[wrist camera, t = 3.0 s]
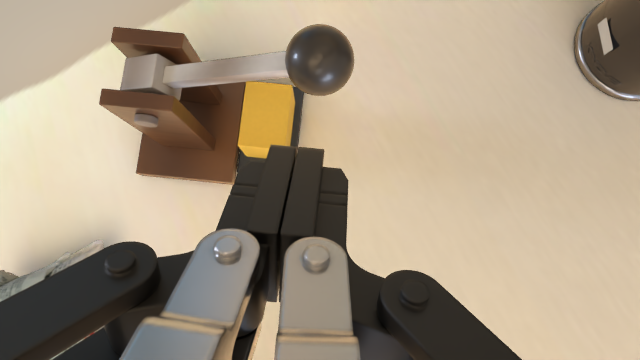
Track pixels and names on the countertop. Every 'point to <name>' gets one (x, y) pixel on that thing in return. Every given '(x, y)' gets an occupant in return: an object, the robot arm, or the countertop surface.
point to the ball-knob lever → (253, 66)
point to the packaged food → (45, 274)
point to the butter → (268, 119)
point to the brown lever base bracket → (179, 115)
